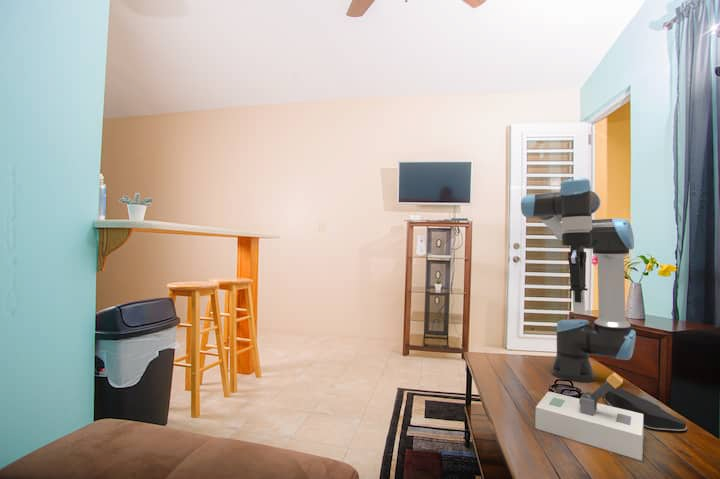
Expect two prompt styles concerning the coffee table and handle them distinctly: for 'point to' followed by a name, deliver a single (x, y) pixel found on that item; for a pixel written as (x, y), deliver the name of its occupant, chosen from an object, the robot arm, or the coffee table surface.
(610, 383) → the lever
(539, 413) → the switch housing
